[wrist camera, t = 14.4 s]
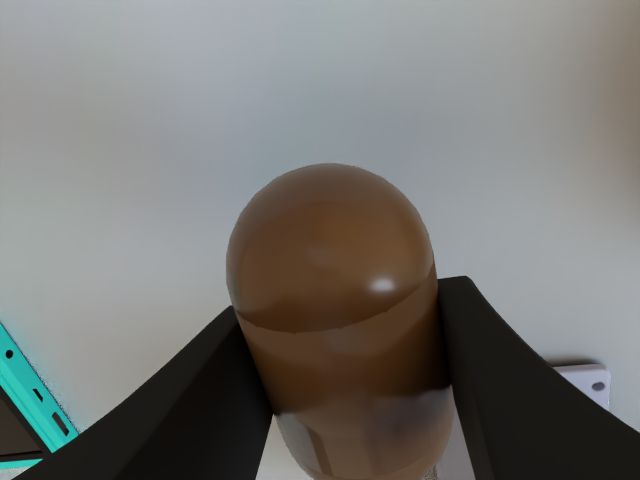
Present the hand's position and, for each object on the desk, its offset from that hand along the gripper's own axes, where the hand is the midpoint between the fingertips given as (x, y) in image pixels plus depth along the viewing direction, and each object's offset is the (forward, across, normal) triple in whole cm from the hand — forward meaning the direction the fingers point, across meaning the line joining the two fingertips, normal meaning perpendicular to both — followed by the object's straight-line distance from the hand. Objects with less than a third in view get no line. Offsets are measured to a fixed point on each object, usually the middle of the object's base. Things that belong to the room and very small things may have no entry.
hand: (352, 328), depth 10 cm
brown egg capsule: (+2, 0, 0) cm, 2 cm away
